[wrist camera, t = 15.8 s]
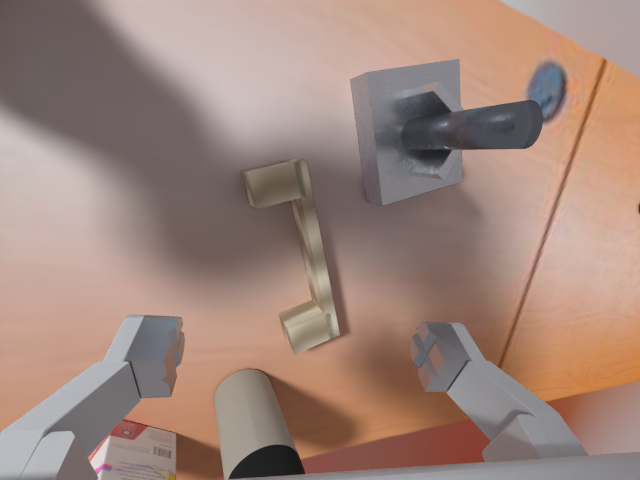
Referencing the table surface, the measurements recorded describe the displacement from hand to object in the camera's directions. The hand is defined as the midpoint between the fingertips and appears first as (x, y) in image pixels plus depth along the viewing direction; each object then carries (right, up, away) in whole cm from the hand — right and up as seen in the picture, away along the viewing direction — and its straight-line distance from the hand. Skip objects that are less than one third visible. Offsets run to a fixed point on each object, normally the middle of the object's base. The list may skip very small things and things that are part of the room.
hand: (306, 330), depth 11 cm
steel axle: (+13, +17, +30) cm, 37 cm away
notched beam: (-4, +1, +32) cm, 32 cm away
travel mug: (-11, -19, +34) cm, 40 cm away
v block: (+11, +18, +33) cm, 39 cm away
